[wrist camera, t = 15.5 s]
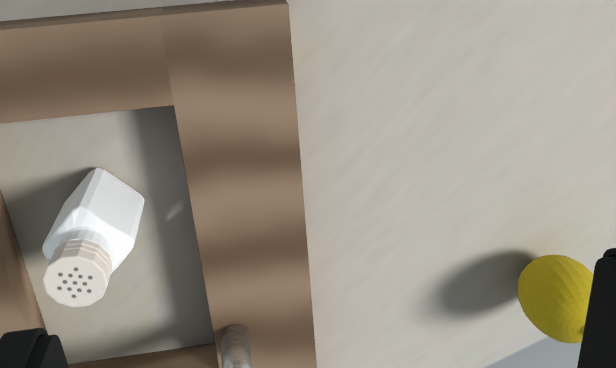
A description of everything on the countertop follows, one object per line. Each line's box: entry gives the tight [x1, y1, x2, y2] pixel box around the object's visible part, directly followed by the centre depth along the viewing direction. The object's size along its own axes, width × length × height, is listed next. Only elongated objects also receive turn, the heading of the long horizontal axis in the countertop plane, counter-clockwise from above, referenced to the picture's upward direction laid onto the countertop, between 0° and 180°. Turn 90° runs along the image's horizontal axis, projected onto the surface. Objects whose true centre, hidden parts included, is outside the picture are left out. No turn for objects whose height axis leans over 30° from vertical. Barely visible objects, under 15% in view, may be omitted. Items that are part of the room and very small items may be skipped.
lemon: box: [517, 255, 594, 343], centre depth 43 cm, size 6×6×8 cm
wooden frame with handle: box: [0, 0, 317, 368], centre depth 39 cm, size 30×26×3 cm
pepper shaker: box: [42, 168, 145, 308], centre depth 35 cm, size 4×4×10 cm
